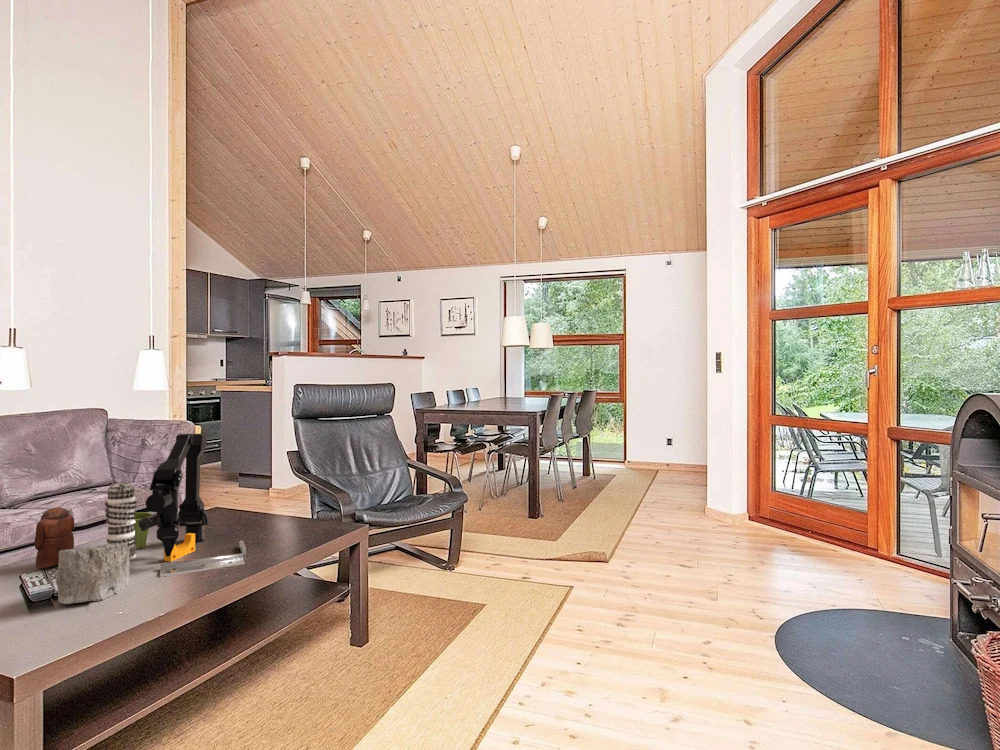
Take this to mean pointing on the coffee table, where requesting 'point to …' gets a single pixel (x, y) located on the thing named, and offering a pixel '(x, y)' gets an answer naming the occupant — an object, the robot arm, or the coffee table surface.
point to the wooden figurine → (53, 536)
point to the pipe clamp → (182, 548)
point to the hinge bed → (203, 563)
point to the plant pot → (140, 535)
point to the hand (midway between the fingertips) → (168, 552)
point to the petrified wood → (92, 573)
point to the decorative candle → (121, 516)
